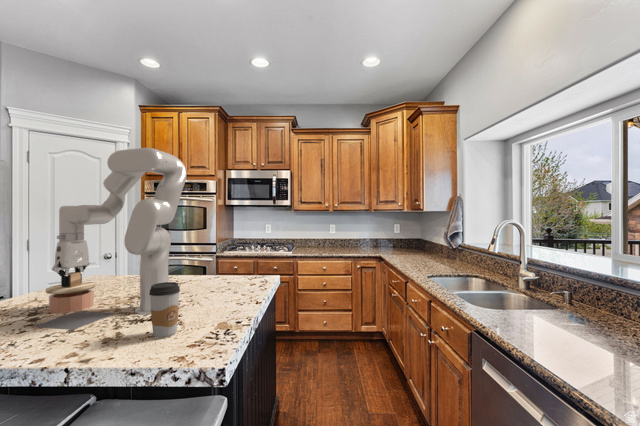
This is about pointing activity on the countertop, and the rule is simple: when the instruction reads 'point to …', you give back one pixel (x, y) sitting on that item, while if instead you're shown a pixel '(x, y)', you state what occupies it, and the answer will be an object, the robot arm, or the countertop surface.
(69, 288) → the lid
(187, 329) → the countertop surface
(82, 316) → the mat
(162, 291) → the coffee cup
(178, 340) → the countertop surface
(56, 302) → the bowl
